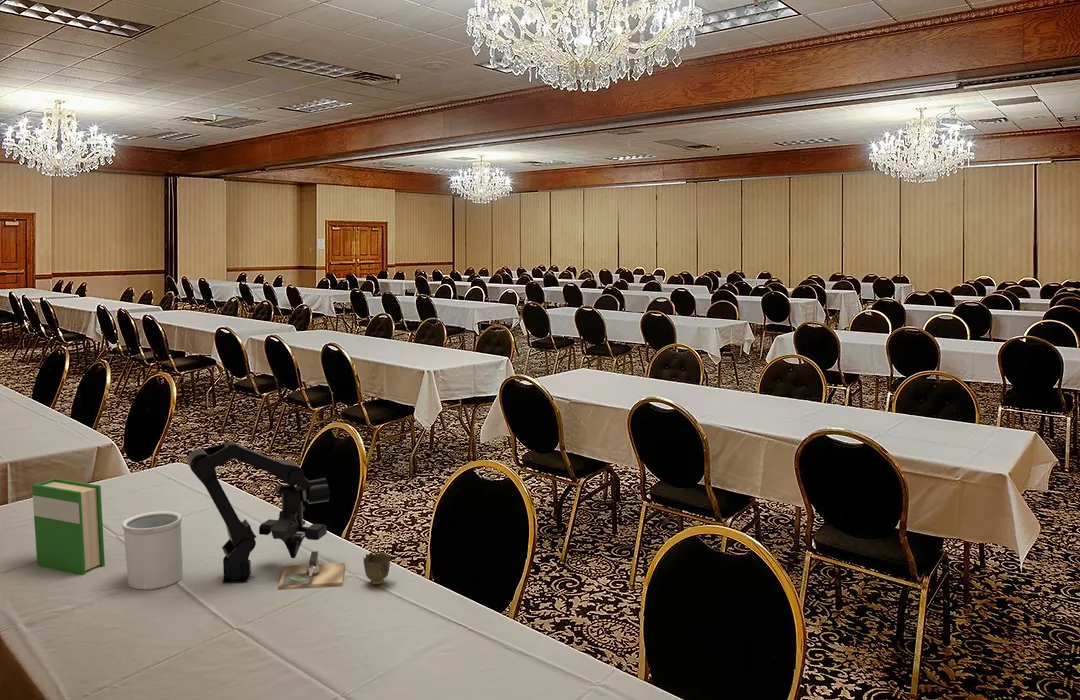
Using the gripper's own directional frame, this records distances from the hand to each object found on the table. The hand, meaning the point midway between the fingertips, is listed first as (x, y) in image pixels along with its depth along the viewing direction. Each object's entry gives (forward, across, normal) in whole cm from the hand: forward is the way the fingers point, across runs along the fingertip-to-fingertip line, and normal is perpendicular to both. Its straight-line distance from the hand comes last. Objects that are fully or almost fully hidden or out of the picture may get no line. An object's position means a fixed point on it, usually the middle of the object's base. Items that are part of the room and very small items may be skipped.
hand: (293, 557), depth 240 cm
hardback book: (+3, -62, -15) cm, 64 cm away
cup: (+3, +28, -4) cm, 28 cm away
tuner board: (+3, +9, -5) cm, 10 cm away
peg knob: (+2, +9, -5) cm, 10 cm away
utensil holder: (+3, -33, -18) cm, 37 cm away
